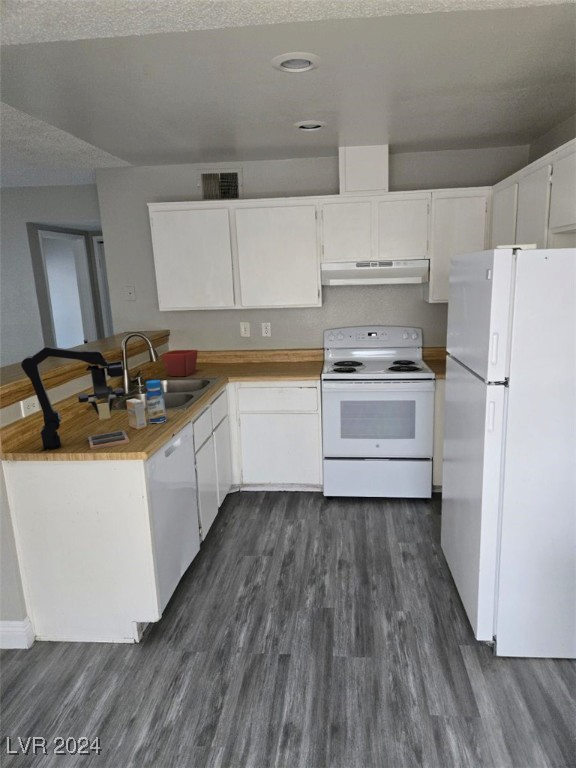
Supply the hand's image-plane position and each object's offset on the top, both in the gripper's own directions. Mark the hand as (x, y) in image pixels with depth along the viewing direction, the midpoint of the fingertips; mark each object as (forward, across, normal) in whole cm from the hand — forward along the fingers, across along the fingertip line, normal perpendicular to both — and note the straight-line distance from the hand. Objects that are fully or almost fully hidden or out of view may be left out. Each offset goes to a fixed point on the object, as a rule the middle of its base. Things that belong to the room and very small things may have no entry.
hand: (104, 414), depth 219 cm
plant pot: (+11, +63, +127) cm, 142 cm away
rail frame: (+11, 0, -4) cm, 12 cm away
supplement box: (+11, +14, +10) cm, 21 cm away
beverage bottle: (+11, +24, +14) cm, 30 cm away
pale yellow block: (+2, 0, 0) cm, 2 cm away
